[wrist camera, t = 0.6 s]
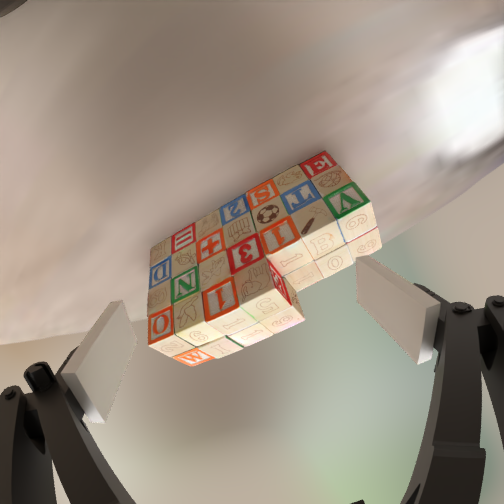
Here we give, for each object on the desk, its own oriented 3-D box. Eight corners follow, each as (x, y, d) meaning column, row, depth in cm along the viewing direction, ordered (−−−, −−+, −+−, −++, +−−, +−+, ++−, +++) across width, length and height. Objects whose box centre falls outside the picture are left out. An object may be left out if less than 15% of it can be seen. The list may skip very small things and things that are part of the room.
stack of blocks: (325, 147, 27) (393, 226, 18) (342, 191, 31) (399, 273, 22) (149, 248, 31) (146, 348, 22) (183, 277, 35) (191, 369, 27)
